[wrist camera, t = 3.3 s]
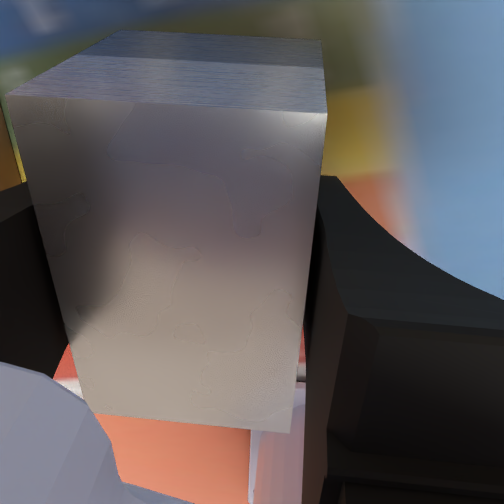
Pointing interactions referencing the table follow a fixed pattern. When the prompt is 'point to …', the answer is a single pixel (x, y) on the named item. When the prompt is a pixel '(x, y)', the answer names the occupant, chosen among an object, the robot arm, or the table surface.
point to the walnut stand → (7, 159)
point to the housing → (179, 218)
